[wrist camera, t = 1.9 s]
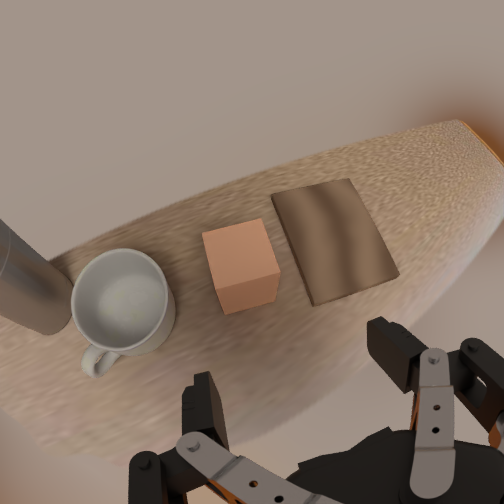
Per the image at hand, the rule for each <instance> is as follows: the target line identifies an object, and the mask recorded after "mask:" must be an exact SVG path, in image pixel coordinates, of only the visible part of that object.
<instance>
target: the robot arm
mask: <svg viewBox="0 0 504 504" xmlns="http://www.w3.org/2000/svg"><path fill="white" fill-rule="evenodd" d="M72 291H73V286H72V284H71V282H70V280H69V279H68V278H67V277H66V276H65V275H63V274H62V273H61V272H60V271H58V270H57V269H56V268H55V267H54V266H52V265H51V264H50V263H49V262H48V261H47V260H45V259H44V258H43V257H41V255H39V254H38V253H37V252H36V251H35V250H33V249H32V248H31V247H30V246H29V245H28V244H27V243H26V242H25V241H23V240H22V239H21V238H20V237H19V236H18V235H17V234H16V233H15V232H14V231H13V230H12V229H10V228H9V227H8V226H7V225H6V224H5V223H4V222H3V221H2V220H1V219H0V315H2V316H4V317H6V318H8V319H10V320H12V321H14V322H16V323H18V324H20V325H22V326H24V327H26V328H29V329H32V330H34V331H36V332H39V333H41V334H43V335H51V334H55V333H57V332H59V331H60V330H61V329H62V328H63V327H64V326H65V325H66V324H67V322H68V321H69V319H70V317H71V315H72V311H71V297H72ZM367 348H368V351H369V354H370V355H371V357H372V358H373V359H374V360H375V361H376V362H377V363H378V365H379V366H380V367H381V368H382V369H383V370H384V371H385V372H386V374H388V376H389V377H390V378H391V379H392V380H393V382H394V383H395V384H396V385H397V386H398V387H399V389H400V390H401V391H402V392H403V393H404V394H406V393H407V392H409V391H411V390H412V391H413V392H414V396H413V406H412V415H411V423H410V429H409V430H398V431H393V432H392V430H391V429H390V428H389V427H386V428H384V429H382V430H380V431H378V432H376V433H374V434H372V435H370V436H368V437H366V438H365V439H364V440H362V441H361V442H360V443H358V444H357V445H356V446H354V447H353V448H351V449H350V450H348V451H344V452H339V453H333V454H327V455H321V456H318V457H315V458H313V459H310V460H307V461H304V462H301V463H298V467H299V470H297V471H296V472H294V473H292V474H291V475H290V476H289V477H287V478H286V479H283V478H281V477H279V476H277V475H275V474H273V473H272V472H270V471H268V470H266V469H265V468H263V467H261V466H260V465H258V464H256V463H255V462H253V461H251V460H250V459H248V458H246V457H244V456H241V455H240V456H239V457H237V456H235V455H233V454H232V453H230V451H229V445H228V440H227V434H226V428H225V421H224V415H223V409H222V403H221V399H220V396H219V393H218V391H217V388H216V386H215V383H214V381H213V379H212V376H211V374H210V372H209V371H207V372H203V373H199V374H194V385H193V386H188V387H186V388H185V390H184V392H183V394H182V437H181V438H180V439H179V440H178V441H177V444H176V447H174V448H173V449H171V450H169V451H167V452H164V453H162V454H159V455H157V454H156V453H154V452H151V451H142V452H139V453H137V454H136V455H135V456H133V458H132V459H131V461H130V463H129V490H128V504H188V501H187V494H186V492H189V491H191V490H194V489H196V488H198V487H200V486H203V485H205V486H206V487H208V488H209V489H210V490H212V491H213V492H214V493H215V494H217V495H218V496H219V497H220V498H222V499H223V500H224V501H226V502H227V503H228V504H504V358H502V357H501V356H500V355H499V354H498V353H496V352H495V351H494V350H493V349H491V348H490V347H489V346H488V345H487V344H485V343H484V342H483V341H482V340H480V339H477V338H468V339H465V340H464V341H463V342H462V343H461V346H460V349H459V350H456V351H452V352H449V353H446V352H445V351H444V350H442V349H439V348H430V349H429V348H428V347H427V346H426V345H424V344H423V343H422V342H421V341H419V339H417V338H416V337H415V336H414V335H412V334H411V333H410V332H409V331H407V329H406V328H404V327H403V326H402V325H400V324H397V323H395V322H391V323H389V322H388V321H387V320H386V319H384V318H383V317H382V316H380V317H378V318H375V319H373V320H370V321H368V322H367ZM477 376H478V377H479V378H480V379H481V380H482V381H483V382H484V383H485V384H486V386H485V385H484V384H483V383H482V382H480V381H479V380H478V379H477ZM454 394H455V395H456V397H457V398H458V399H459V400H460V401H461V402H462V403H463V404H464V405H465V407H466V408H467V409H468V410H469V411H470V412H471V414H472V415H473V416H474V417H475V418H476V419H477V420H478V422H479V423H480V424H481V425H482V426H483V427H484V429H485V430H486V431H487V432H488V433H489V436H488V441H489V443H490V446H486V445H479V444H474V443H468V442H463V441H458V440H454Z"/></svg>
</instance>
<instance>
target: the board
mask: <svg viewBox="0 0 504 504" xmlns="http://www.w3.org/2000/svg"><path fill="white" fill-rule="evenodd" d="M271 200H272V202H273V205H274V207H275V210H276V212H277V215H278V217H279V220H280V222H281V225H282V227H283V230H284V232H285V235H286V237H287V240H288V242H289V245H290V247H291V250H292V253H293V255H294V258H295V260H296V263H297V266H298V268H299V271H300V274H301V276H302V279H303V282H304V284H305V287H306V290H307V292H308V295H309V298H310V300H311V303H312V306H313V307H315V306H318V305H321V304H324V303H327V302H331V301H334V300H337V299H340V298H343V297H345V296H348V295H351V294H354V293H357V292H360V291H363V290H366V289H368V288H371V287H374V286H377V285H380V284H382V283H385V282H388V281H390V280H393V279H396V278H397V277H398V276H399V275H400V274H399V271H398V269H397V267H396V265H395V263H394V261H393V259H392V257H391V255H390V253H389V251H388V249H387V247H386V245H385V243H384V241H383V239H382V237H381V235H380V233H379V231H378V229H377V227H376V225H375V223H374V222H373V220H372V218H371V216H370V214H369V212H368V210H367V209H366V207H365V205H364V203H363V202H362V200H361V198H360V196H359V195H358V193H357V191H356V189H355V188H354V186H353V184H352V183H351V181H350V179H349V178H348V179H343V180H337V181H332V182H327V183H322V184H317V185H312V186H307V187H303V188H298V189H293V190H288V191H284V192H279V193H275V194H272V198H271Z"/></svg>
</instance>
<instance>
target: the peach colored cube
mask: <svg viewBox="0 0 504 504" xmlns="http://www.w3.org/2000/svg"><path fill="white" fill-rule="evenodd" d="M202 237H203V241H204V245H205V249H206V254H207V258H208V262H209V266H210V270H211V274H212V278H213V282H214V286H215V290H216V293H217V296H218V298H219V301H220V304H221V306H222V309H223V311H224V314H225V315H227V314H231V313H234V312H238V311H242V310H246V309H249V308H253V307H257V306H260V305H264V304H267V303H271V302H274V301H275V299H276V294H277V289H278V283H279V278H280V269H279V266H278V263H277V261H276V258H275V255H274V252H273V249H272V247H271V244H270V241H269V238H268V235H267V233H266V230H265V227H264V224H263V222H262V219H261V218H260V219H256V220H252V221H248V222H244V223H240V224H236V225H232V226H228V227H224V228H220V229H216V230H212V231H208V232H204V233H202Z"/></svg>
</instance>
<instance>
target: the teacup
mask: <svg viewBox="0 0 504 504" xmlns="http://www.w3.org/2000/svg"><path fill="white" fill-rule="evenodd" d="M71 311H72V316H73V319H74V322H75V325H76V326H77V328H78V330H79V331H80V333H81V334H82V335H83V336H84V337H85V338H86V339H87V340H88V341H89V342H90V343H92V344H91V345H90V346H89V347H88V348H87V349H86V351H85V352H84V355H83V357H82V361H81V366H82V369H83V371H84V372H85V373H86V374H87V375H88V376H90V377H93V378H99V377H101V376H103V375H104V374H105V373H106V372H107V371H108V370H109V369H110V367H111V366H112V365H113V363H114V362H115V361H116V359H118V358H119V357H120V356H121V355H127V356H139V355H143V354H147V353H149V352H151V351H153V350H155V349H156V348H158V347H159V346H160V345H161V344H162V343H163V342H164V341H165V340H166V339H167V337H168V336H169V334H170V332H171V330H172V328H173V325H174V321H175V314H176V309H175V301H174V297H173V294H172V291H171V289H170V287H169V285H168V283H167V281H166V278H165V276H164V273H163V272H162V270H161V268H160V267H159V265H158V264H157V263H156V262H155V261H154V260H153V259H152V258H150V257H149V256H148V255H146V254H145V253H143V252H141V251H138V250H134V249H129V248H118V249H113V250H110V251H107V252H104V253H102V254H100V255H98V256H97V257H95V258H94V259H93V260H91V261H90V262H89V263H88V264H87V265H86V266H85V267H84V268H83V270H82V271H81V273H80V274H79V276H78V278H77V280H76V282H75V285H74V288H73V291H72V297H71ZM103 353H105V354H104V355H103V356H102V358H101V359H100V360H99V361H98V362H97V363H96V361H97V359H98V357H99V356H100V355H101V354H103ZM95 363H96V364H95Z"/></svg>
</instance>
